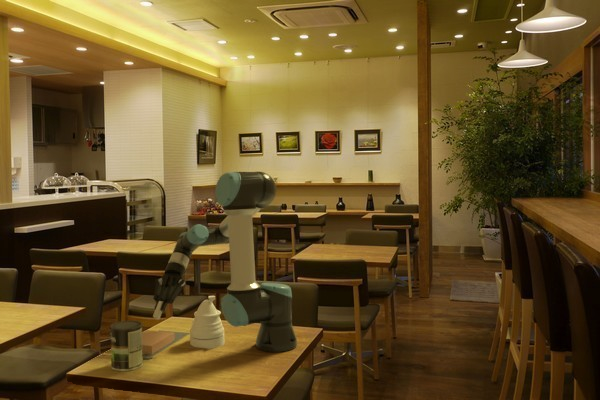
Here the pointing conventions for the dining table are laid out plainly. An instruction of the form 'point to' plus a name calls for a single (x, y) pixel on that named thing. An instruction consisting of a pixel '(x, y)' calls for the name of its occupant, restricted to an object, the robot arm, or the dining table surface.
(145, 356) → the mat
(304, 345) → the dining table surface
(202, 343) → the honey pot
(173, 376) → the dining table surface
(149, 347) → the tile
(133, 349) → the coffee can
